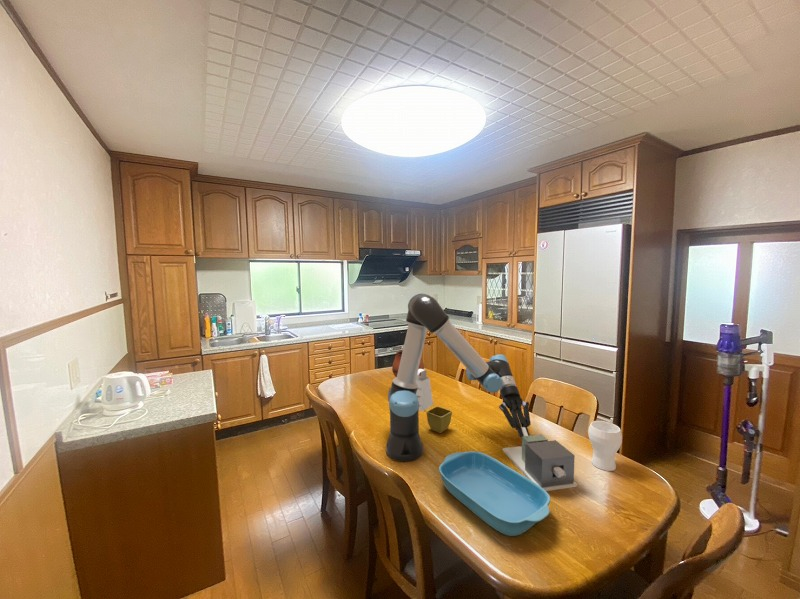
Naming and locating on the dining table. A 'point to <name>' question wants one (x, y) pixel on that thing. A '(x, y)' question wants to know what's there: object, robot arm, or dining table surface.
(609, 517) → the dining table surface
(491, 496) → the casserole dish
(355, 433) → the dining table surface
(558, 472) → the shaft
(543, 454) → the bearing block
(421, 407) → the grater
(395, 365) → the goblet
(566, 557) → the dining table surface
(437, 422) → the flower pot
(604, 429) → the cup
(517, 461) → the base board
